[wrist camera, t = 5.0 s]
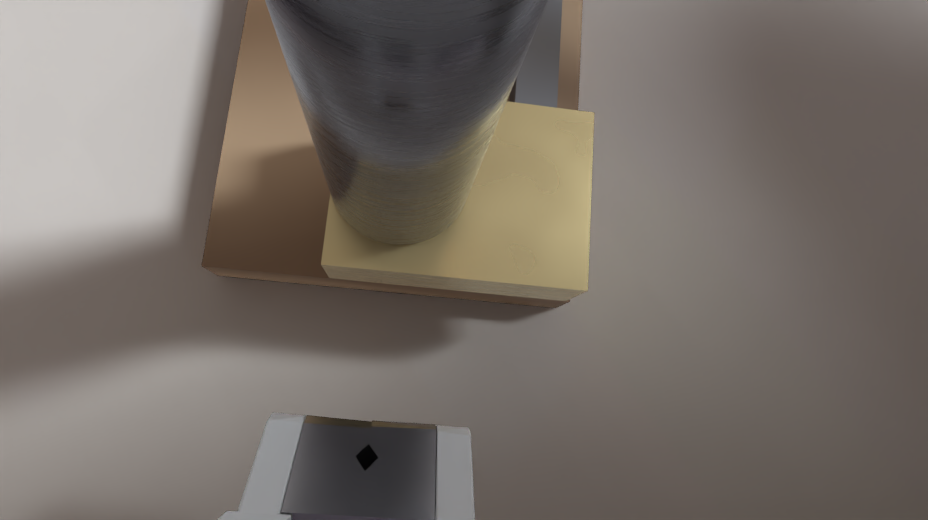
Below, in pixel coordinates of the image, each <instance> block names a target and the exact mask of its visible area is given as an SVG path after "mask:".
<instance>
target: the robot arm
mask: <svg viewBox="0 0 928 520" xmlns="http://www.w3.org/2000/svg"><path fill="white" fill-rule="evenodd" d="M217 520H475V509H474V488H473V467H472V446H471V432H470V430H469V428H468V427H455V426H441V425H437V426H435V424H418V423H402V422H386V421H372V422H369V421H359V420H349V419H339V418H329V417H319V416H309V415H307V416H306V415H295V414H284V413H272V414H271V416H270V417H269V419H268V420H267V422H266V425H265V428H264V431H263V434H262V437H261V441H260V444H259V447H258V450H257V453H256V456H255V459H254V462H253V465H252V468H251V471H250V474H249V477H248V480H247V483H246V486H245V489H244V492H243V495H242V499H241V502H240V505H239V508H238V511H226V512H225V513H224V514H223V515H221V516H220V517H219V518H218V519H217Z"/></svg>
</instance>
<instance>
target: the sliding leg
mask: <svg viewBox="0 0 928 520" xmlns="http://www.w3.org/2000/svg"><path fill="white" fill-rule="evenodd" d="M265 2H266V5H267V7H268V10H269V13H270V16H271V19H272V22H273V25H274V28H275V31H276V34H277V37H278V40H279V43H280V46H281V49H282V52H283V55H284V58H285V61H286V64H287V67H288V70H289V72H290V75H291V78H292V81H293V84H294V87H295V90H296V93H297V96H298V99H299V102H300V105H301V108H302V111H303V114H304V117H305V120H306V123H307V126H308V129H309V132H310V134H311V137H312V140H313V143H314V146H315V149H316V152H317V155H318V158H319V161H320V164H321V167H322V170H323V173H324V176H325V179H326V182H327V185H328V188H329V191H330V199H329V207H328V215H327V222H326V230H325V237H324V245H323V252H322V260H321V265H322V267H323V269H324V270H325V272H326V273H327V275H328V277H329V278H332V279H343V280H353V281H363V282H373V283H384V284H394V285H404V286H415V287H425V288H435V289H446V290H456V291H466V292H477V293H487V294H497V295H507V296H518V297H528V298H538V299H549V300H559V301H567V300H569V299H571V298H573V297H576V296H578V295H580V294H582V293H584V292H587V291H588V271H589V244H590V217H591V189H592V162H593V134H594V113H593V112H585V111H578V110H570V109H562V108H555V107H547V106H539V105H532V104H524V103H516V102H508V101H507V99H508V97H509V95H510V92H511V90H512V87H513V85H514V82H515V80H516V77H517V75H518V73H519V70H520V68H521V65H522V63H523V60H524V58H525V55H526V53H527V51H528V48H529V46H530V43H531V41H532V38H533V36H534V33H535V31H536V29H537V26H538V24H539V21H540V19H541V16H542V14H543V11H544V9H545V7H546V4H547V2H548V0H265Z"/></svg>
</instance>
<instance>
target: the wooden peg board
mask: <svg viewBox="0 0 928 520" xmlns="http://www.w3.org/2000/svg"><path fill="white" fill-rule="evenodd" d="M582 3H583V0H548V2H547V4H546V7H545V9H544V11H543V14H542V16H541V19H540V21H539V24H538V26H537V29H536V31H535V33H534V36H533V38H532V41H531V43H530V46H529V48H528V51H527V53H526V55H525V58H524V60H523V63H522V65H521V68H520V70H519V73H518V75H517V77H516V80H515V82H514V85H513V87H512V90H511V92H510V95H509V97H508V99H507V101H508V102H516V103H524V104H532V105H539V106H547V107H555V108H562V109H570V110H578V97H579V74H580V50H581V27H582ZM329 199H330V191H329V188H328V185H327V182H326V179H325V176H324V173H323V170H322V167H321V164H320V161H319V158H318V155H317V152H316V149H315V146H314V143H313V140H312V137H311V134H310V132H309V129H308V126H307V123H306V120H305V117H304V114H303V111H302V108H301V105H300V102H299V99H298V96H297V93H296V90H295V87H294V84H293V81H292V78H291V75H290V72H289V70H288V67H287V64H286V61H285V58H284V55H283V52H282V49H281V46H280V43H279V40H278V37H277V34H276V31H275V28H274V25H273V22H272V19H271V16H270V13H269V10H268V7H267V5H266V2H265V0H248V3H247V9H246V15H245V20H244V26H243V32H242V38H241V43H240V49H239V55H238V60H237V66H236V72H235V77H234V83H233V89H232V95H231V100H230V106H229V112H228V117H227V123H226V129H225V135H224V140H223V146H222V152H221V157H220V163H219V169H218V175H217V180H216V186H215V192H214V197H213V203H212V209H211V215H210V220H209V226H208V232H207V237H206V243H205V249H204V254H203V260H202V267H204V268H206V269H207V270H209V271H211V272H213V273H214V274H216V275H218V276H227V277H237V278H248V279H258V280H269V281H279V282H289V283H300V284H310V285H321V286H331V287H342V288H352V289H363V290H373V291H384V292H394V293H404V294H415V295H425V296H436V297H446V298H457V299H467V300H478V301H488V302H499V303H509V304H519V305H530V306H540V307H551V308H556V307H559V306H561V305H563V304H566V303H568V302H570V299H569V300H567V301H559V300H549V299H538V298H528V297H518V296H507V295H497V294H487V293H477V292H466V291H456V290H446V289H435V288H425V287H415V286H404V285H394V284H384V283H373V282H363V281H353V280H343V279H332V278H329V277H328V275H327V273H326V272H325V270H324V269H323V267H322V265H321V260H322V252H323V245H324V237H325V230H326V222H327V215H328V207H329Z"/></svg>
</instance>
